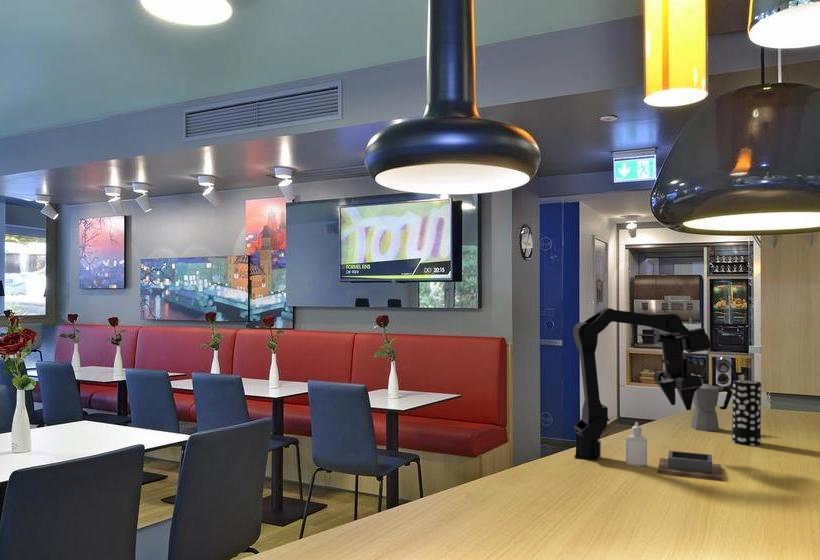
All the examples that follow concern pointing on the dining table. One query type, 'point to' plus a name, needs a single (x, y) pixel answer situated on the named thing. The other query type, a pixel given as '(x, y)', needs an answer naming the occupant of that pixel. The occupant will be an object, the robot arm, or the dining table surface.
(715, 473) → the socket board
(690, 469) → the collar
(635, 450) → the eye dropper bottle
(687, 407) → the robot arm
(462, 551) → the dining table surface
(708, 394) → the coffeepot
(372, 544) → the dining table surface
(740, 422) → the white-spotted black cylinder
